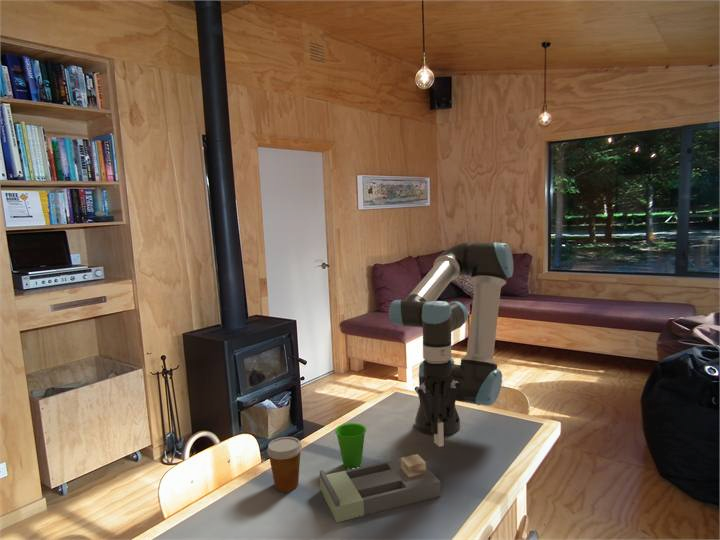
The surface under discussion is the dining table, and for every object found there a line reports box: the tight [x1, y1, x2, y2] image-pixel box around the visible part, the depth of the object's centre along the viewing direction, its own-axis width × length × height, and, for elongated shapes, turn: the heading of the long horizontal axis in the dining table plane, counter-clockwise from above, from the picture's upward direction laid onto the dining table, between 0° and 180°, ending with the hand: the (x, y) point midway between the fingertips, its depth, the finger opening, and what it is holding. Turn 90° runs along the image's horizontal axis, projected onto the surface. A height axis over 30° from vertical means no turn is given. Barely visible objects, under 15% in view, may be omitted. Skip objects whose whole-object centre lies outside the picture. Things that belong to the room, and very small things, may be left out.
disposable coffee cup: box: [266, 436, 303, 493], centre depth 136 cm, size 10×10×12 cm
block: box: [400, 453, 427, 477], centre depth 133 cm, size 5×5×3 cm
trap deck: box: [319, 457, 441, 523], centre depth 130 cm, size 28×15×6 cm, turn 109°
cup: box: [334, 422, 367, 470], centre depth 145 cm, size 9×9×11 cm
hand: (438, 444), depth 135 cm, fingers closed
